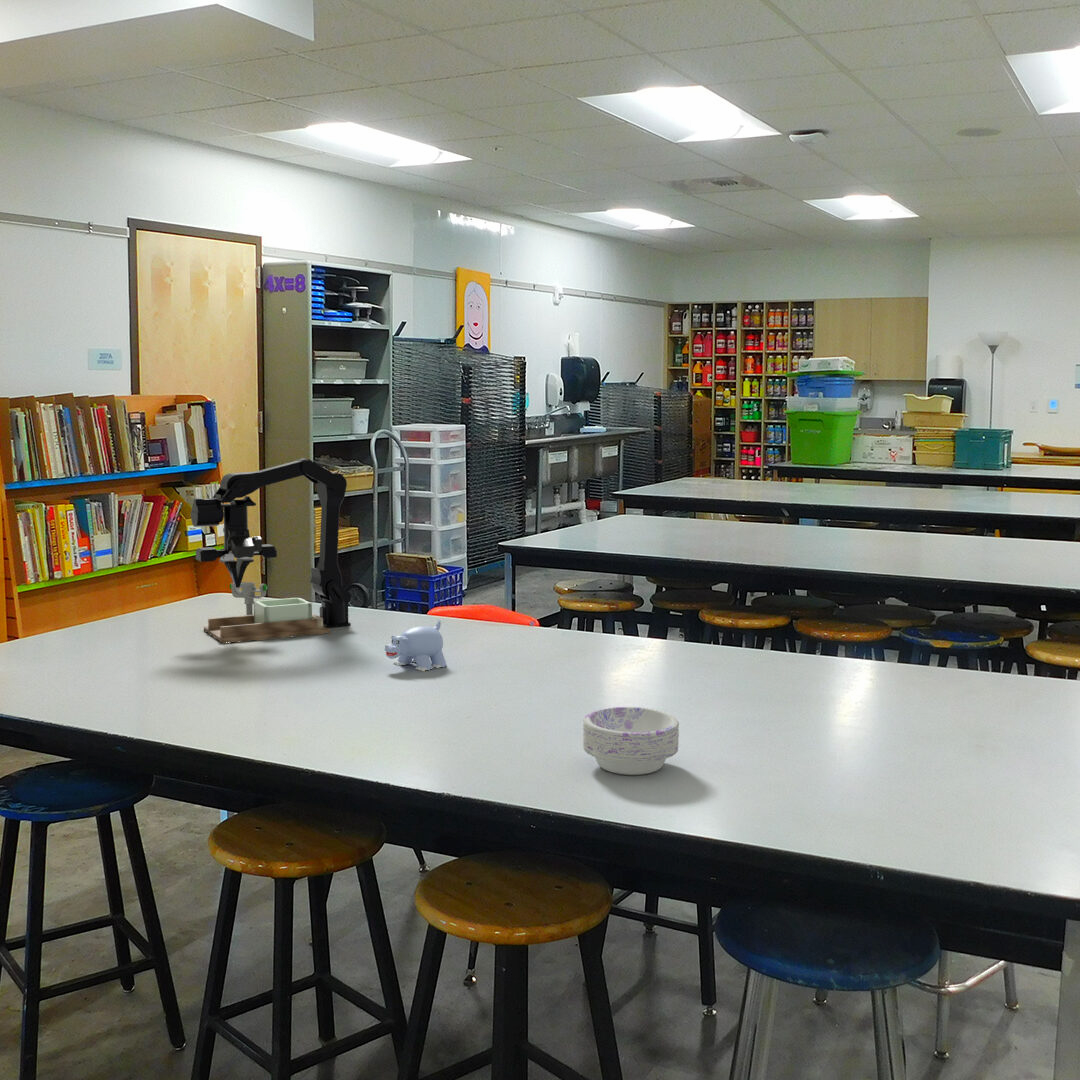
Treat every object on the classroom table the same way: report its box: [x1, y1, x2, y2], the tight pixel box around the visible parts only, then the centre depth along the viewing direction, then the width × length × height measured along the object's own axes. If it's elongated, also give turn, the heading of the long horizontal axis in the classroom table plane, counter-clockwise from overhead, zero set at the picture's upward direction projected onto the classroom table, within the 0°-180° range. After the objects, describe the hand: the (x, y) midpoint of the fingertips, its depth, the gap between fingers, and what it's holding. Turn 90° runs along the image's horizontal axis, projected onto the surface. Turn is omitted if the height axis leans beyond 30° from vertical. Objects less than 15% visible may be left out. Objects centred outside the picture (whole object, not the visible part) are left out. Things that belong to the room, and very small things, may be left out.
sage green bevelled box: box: [253, 597, 313, 624], centre depth 291 cm, size 12×10×6 cm
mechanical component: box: [229, 581, 269, 615], centre depth 304 cm, size 3×10×10 cm, turn 78°
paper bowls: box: [582, 706, 680, 776], centre depth 183 cm, size 15×15×8 cm
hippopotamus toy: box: [384, 619, 448, 672], centre depth 252 cm, size 11×15×10 cm
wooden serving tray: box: [203, 612, 331, 644], centre depth 289 cm, size 27×18×4 cm, turn 120°
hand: (237, 587), depth 284 cm, fingers closed
